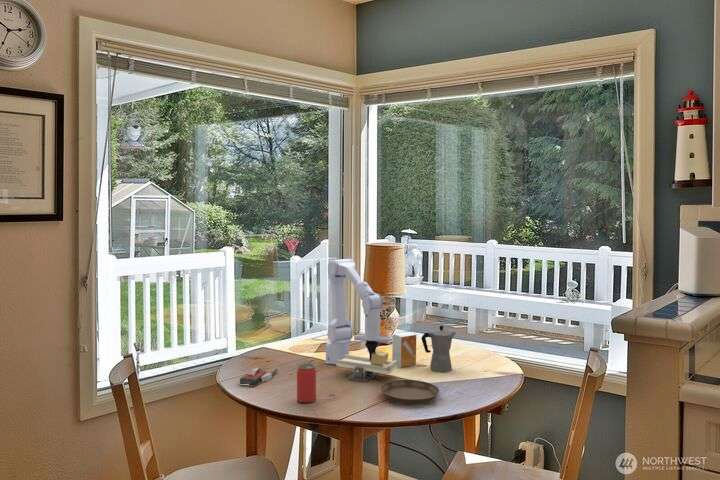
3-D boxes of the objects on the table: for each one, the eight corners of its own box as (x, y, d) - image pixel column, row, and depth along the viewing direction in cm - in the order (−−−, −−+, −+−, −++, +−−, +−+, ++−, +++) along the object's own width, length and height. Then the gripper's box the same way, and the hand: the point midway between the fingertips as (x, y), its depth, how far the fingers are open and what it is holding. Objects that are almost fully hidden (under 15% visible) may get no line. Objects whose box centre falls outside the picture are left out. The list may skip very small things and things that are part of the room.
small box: (401, 368, 246) (401, 336, 245) (391, 364, 252) (392, 333, 251) (416, 365, 251) (416, 334, 250) (407, 361, 256) (407, 331, 255)
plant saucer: (446, 392, 217) (446, 383, 217) (428, 411, 198) (429, 401, 198) (392, 385, 225) (392, 376, 225) (371, 402, 206) (371, 393, 206)
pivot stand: (347, 379, 231) (347, 368, 231) (361, 369, 245) (361, 358, 244) (366, 382, 228) (366, 370, 228) (380, 371, 242) (380, 360, 241)
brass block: (370, 365, 232) (372, 353, 232) (375, 362, 237) (376, 350, 236) (382, 368, 230) (384, 356, 230) (386, 365, 235) (388, 352, 234)
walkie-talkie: (259, 388, 221) (279, 373, 241) (258, 377, 221) (279, 362, 240) (237, 386, 223) (259, 371, 243) (237, 375, 223) (259, 360, 242)
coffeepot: (449, 364, 252) (450, 322, 250) (460, 370, 243) (461, 326, 241) (416, 368, 246) (416, 324, 245) (426, 374, 237) (427, 329, 236)
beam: (336, 365, 236) (336, 358, 235) (345, 360, 244) (345, 352, 244) (389, 374, 227) (389, 366, 227) (396, 368, 236) (397, 360, 235)
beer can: (297, 397, 211) (296, 363, 210) (316, 396, 211) (315, 363, 211) (296, 403, 204) (296, 369, 203) (316, 403, 205) (316, 368, 204)
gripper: (351, 326, 232) (351, 360, 233) (386, 329, 227) (386, 364, 228) (358, 322, 239) (357, 356, 240) (392, 325, 234) (392, 359, 235)
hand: (372, 360), depth 234 cm, fingers closed, pressing on brass block
